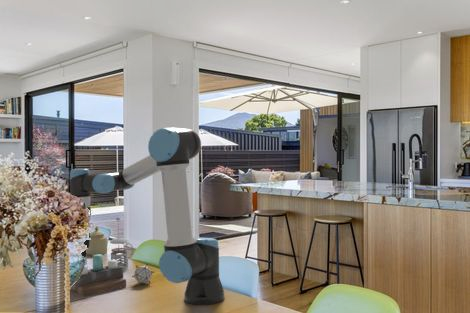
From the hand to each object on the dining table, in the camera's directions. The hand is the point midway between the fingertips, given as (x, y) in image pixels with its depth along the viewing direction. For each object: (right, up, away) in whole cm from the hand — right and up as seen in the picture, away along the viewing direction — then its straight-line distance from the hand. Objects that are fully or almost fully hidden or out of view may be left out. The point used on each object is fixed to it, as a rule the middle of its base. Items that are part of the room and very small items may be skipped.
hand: (82, 264), depth 189 cm
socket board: (+5, -11, +5) cm, 13 cm away
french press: (+8, -10, +33) cm, 35 cm away
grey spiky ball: (+23, -10, +9) cm, 27 cm away
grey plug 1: (0, -7, 0) cm, 7 cm away
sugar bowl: (-16, -10, +71) cm, 74 cm away
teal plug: (+5, -3, +4) cm, 7 cm away
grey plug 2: (+10, -6, +9) cm, 15 cm away
